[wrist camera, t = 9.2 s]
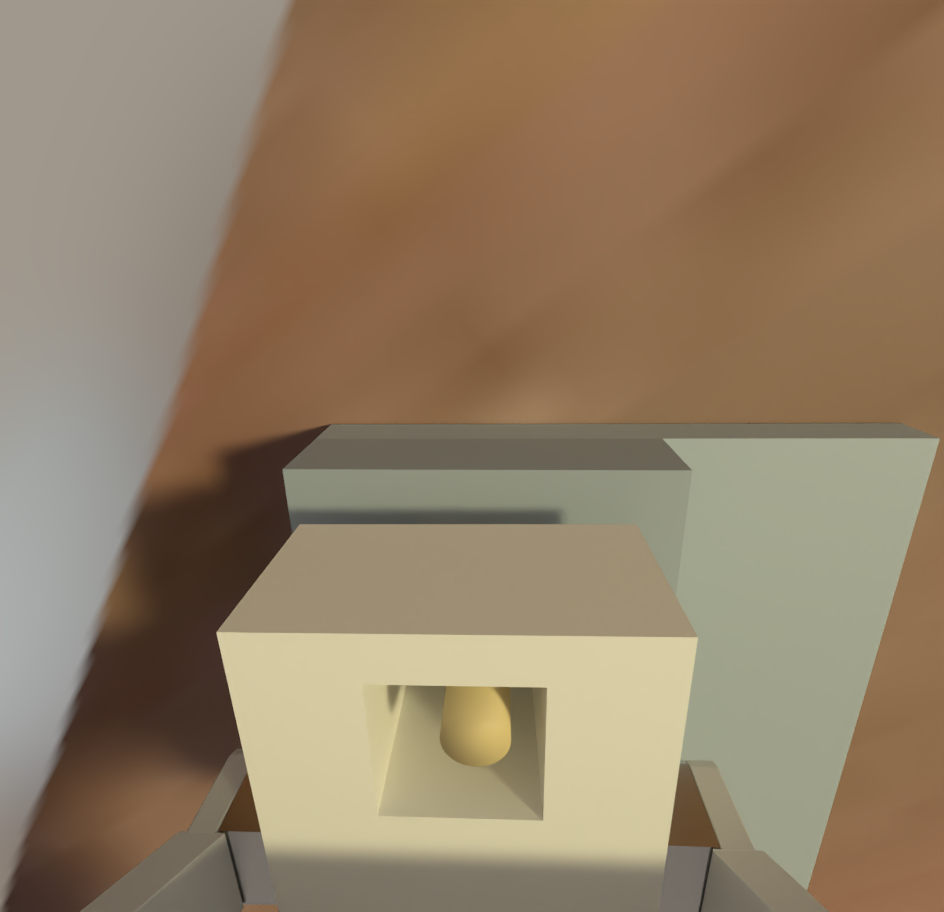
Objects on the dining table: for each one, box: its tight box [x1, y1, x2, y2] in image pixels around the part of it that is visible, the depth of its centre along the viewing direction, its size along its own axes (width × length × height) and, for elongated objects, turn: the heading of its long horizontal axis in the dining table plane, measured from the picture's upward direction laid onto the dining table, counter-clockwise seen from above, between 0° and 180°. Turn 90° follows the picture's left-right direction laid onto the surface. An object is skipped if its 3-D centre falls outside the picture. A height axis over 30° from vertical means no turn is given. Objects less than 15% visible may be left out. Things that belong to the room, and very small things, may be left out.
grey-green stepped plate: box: [282, 423, 940, 891], centre depth 14 cm, size 24×14×7 cm, turn 1°
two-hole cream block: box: [216, 524, 698, 912], centre depth 10 cm, size 10×6×3 cm, turn 1°
